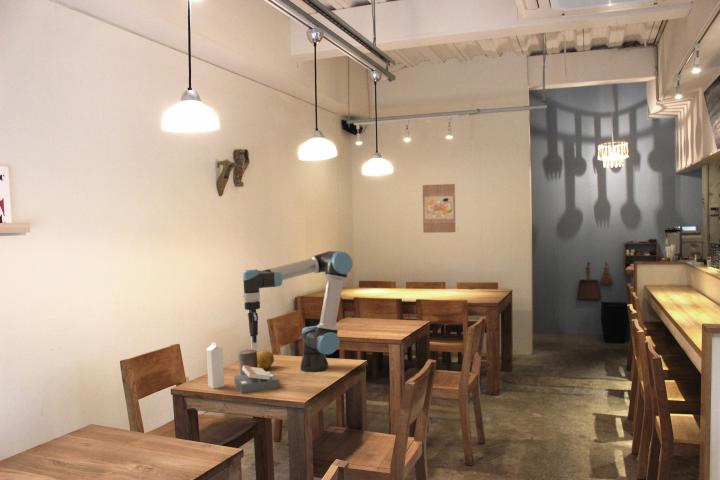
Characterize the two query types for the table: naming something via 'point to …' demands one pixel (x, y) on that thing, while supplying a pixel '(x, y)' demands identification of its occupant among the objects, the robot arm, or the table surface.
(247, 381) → the grey tray
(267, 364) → the potato
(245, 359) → the pillar candle
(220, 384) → the milk
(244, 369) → the rocker
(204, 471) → the table surface
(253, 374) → the white flat box
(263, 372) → the rocker
